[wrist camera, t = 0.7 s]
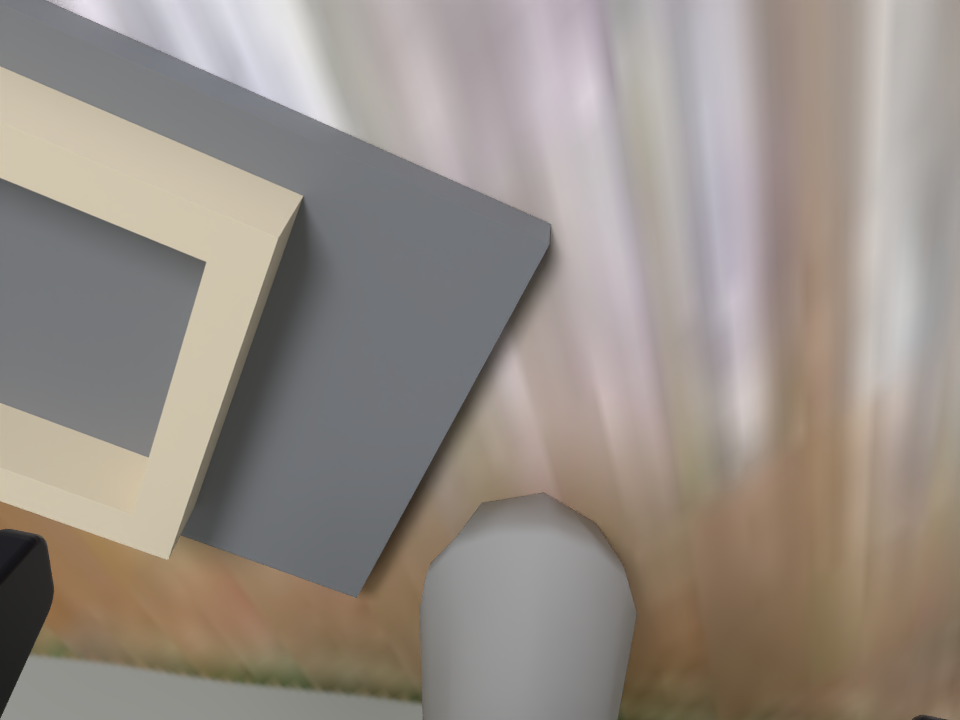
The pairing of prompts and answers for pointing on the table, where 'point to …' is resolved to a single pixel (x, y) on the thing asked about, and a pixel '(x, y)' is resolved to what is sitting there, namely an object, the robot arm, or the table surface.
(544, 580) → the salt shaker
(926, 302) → the table surface
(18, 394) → the build board
